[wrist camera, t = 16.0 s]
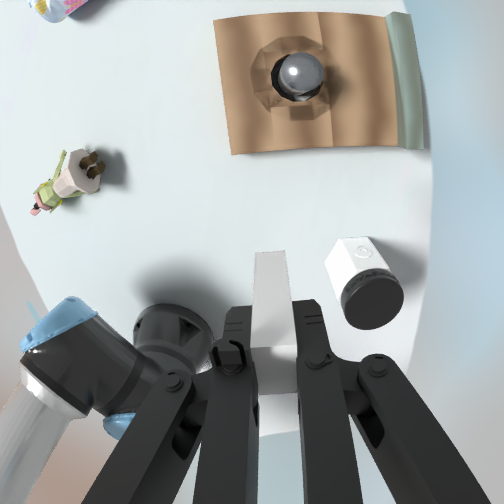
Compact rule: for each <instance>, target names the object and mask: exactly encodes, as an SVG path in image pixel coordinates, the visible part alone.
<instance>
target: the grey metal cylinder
mask: <svg viewBox="0 0 504 504" xmlns="http://www.w3.org/2000/svg"><path fill="white" fill-rule="evenodd" d="M323 76H324V70H323V66H322V64H321V63H320V61H319V60H318V59H317V58H316V57H314V56H313V55H311V54H308V53H303V52H299V53H294V54H292V55H290V56H288V57H287V58H286V59H285V61H284V62H283V64H282V67H281V69H280V71H279V74H278V84H279V86H280V88H281V89H282V90H283V91H284V92H285V93H287V94H289V95H295V96H296V95H301V94H304V93H306V92H308V91H310V90H312V89H314V88H316V87H317V86H319V85H320V83H321V82H322V80H323Z"/></svg>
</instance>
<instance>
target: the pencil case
mask: <svg viewBox="0 0 504 504" xmlns="http://www.w3.org/2000/svg"><path fill="white" fill-rule="evenodd" d="M87 1H88V0H28V2H29V5H30V8H31V7H33V9H34V10H35V11H36V13H37V14H39V15H40V16H41V17H42V18H44V19H45V20H47V21H49V22H52V23H57V22H61V21H62V20H63V19H65V18H66V17H67V16H68V15H69V14H70V13H72V12H73V11H74V10H76V9H77V8H78V7H80V6H81V5H83V4H84V3H85V2H87Z"/></svg>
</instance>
